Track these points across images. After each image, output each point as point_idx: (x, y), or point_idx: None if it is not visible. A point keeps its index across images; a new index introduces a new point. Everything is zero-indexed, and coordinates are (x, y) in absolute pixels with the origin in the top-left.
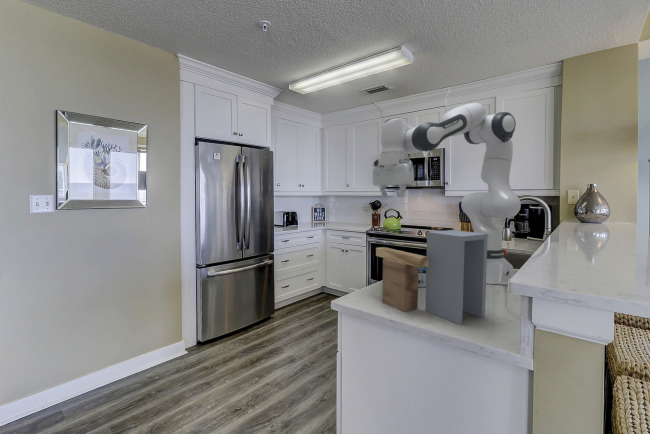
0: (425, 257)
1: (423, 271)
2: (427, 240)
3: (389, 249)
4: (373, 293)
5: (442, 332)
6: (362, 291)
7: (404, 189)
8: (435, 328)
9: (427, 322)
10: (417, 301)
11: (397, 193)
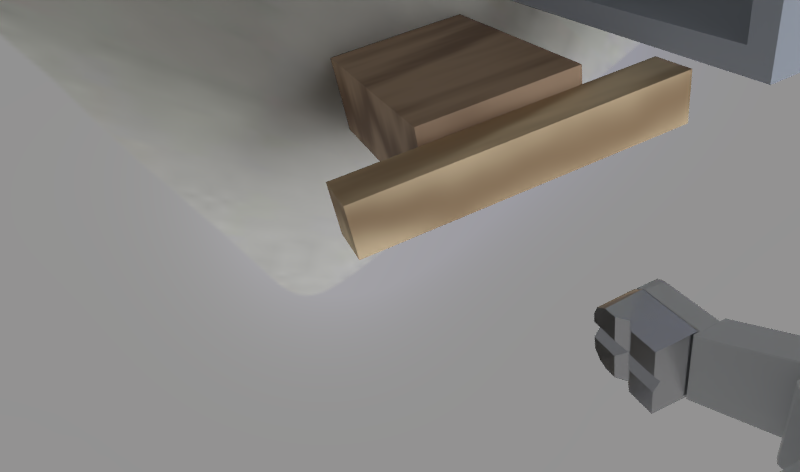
0: (690, 88)
1: None
2: (726, 67)
3: (440, 195)
4: (222, 133)
5: (633, 40)
6: (179, 178)
7: (797, 349)
8: (608, 46)
9: (568, 47)
10: (475, 21)
11: (640, 398)
